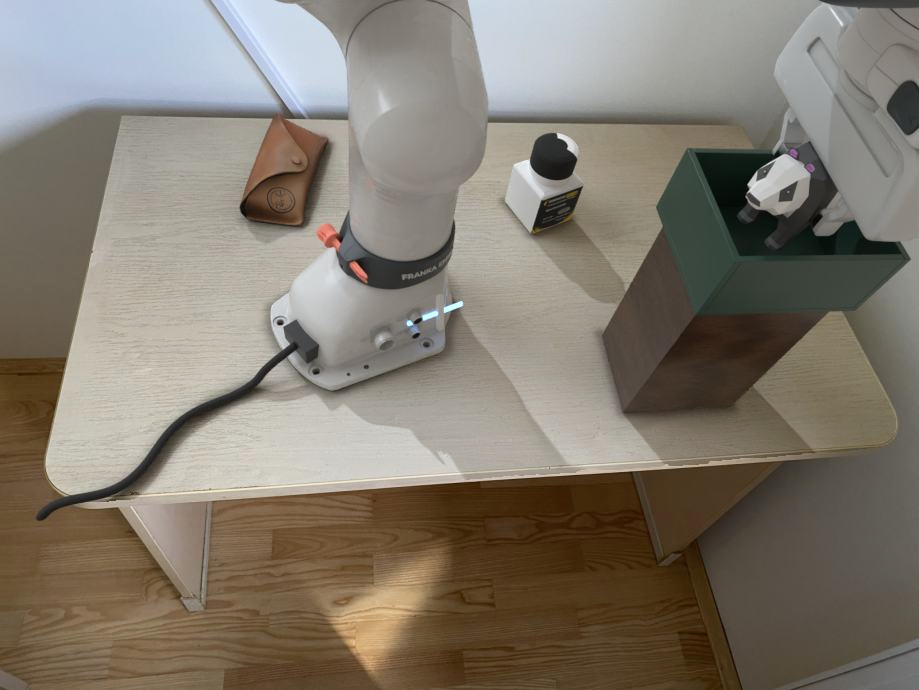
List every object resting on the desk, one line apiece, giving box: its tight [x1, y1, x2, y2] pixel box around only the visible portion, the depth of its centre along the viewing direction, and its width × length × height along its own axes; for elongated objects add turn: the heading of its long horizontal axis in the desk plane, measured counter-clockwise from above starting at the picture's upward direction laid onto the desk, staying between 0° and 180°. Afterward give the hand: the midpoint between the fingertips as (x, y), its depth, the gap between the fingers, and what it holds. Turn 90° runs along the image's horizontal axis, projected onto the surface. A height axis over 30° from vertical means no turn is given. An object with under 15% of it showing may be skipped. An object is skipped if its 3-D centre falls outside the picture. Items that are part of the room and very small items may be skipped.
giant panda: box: [737, 140, 841, 252], centre depth 56 cm, size 15×6×10 cm, turn 123°
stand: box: [601, 226, 829, 414], centre depth 73 cm, size 14×11×22 cm
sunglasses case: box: [238, 113, 330, 227], centre depth 91 cm, size 18×7×7 cm
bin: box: [655, 147, 912, 315], centre depth 61 cm, size 16×13×8 cm
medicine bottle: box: [504, 132, 585, 235], centre depth 90 cm, size 7×7×12 cm
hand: (799, 193), depth 57 cm, fingers closed on giant panda, 7 cm apart
